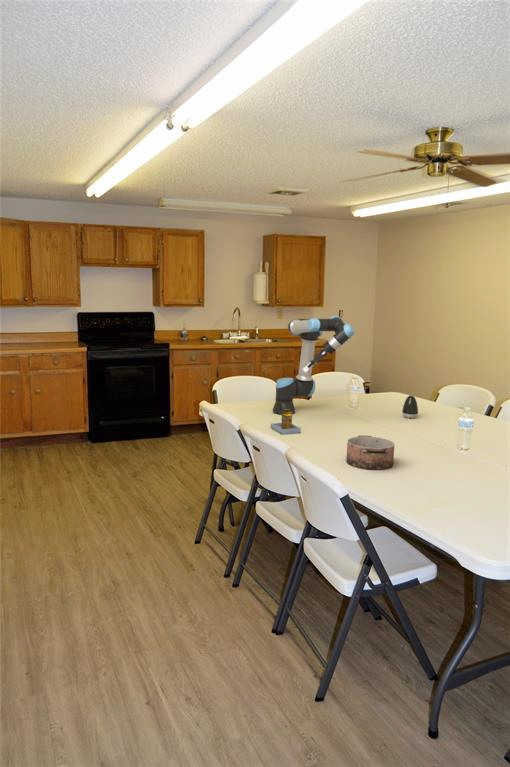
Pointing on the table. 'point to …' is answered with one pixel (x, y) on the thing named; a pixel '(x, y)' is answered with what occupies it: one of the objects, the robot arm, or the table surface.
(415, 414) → the black bullet-shaped dome
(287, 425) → the condiment
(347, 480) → the table surface
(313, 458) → the table surface
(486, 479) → the table surface
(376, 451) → the cooking pot
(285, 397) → the robot arm
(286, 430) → the tray
